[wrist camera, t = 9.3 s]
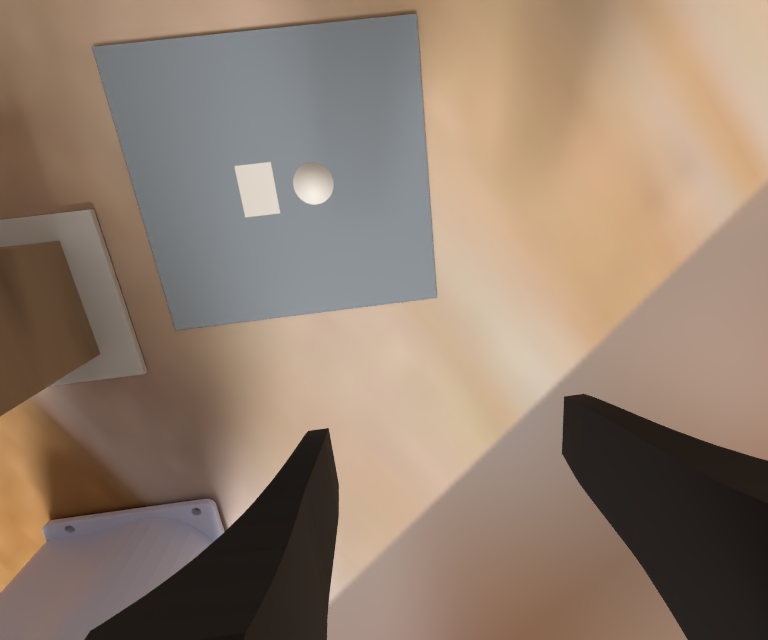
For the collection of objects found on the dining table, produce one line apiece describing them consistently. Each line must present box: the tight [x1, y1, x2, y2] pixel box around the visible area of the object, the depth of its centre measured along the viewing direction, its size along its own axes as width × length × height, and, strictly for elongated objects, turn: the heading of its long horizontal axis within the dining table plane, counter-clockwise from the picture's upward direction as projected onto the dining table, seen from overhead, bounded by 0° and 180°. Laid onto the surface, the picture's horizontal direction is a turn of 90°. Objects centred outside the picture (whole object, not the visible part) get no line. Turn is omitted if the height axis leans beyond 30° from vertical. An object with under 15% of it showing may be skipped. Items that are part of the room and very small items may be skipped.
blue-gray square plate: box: [92, 13, 437, 331], centre depth 18 cm, size 13×12×1 cm
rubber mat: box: [0, 209, 147, 387], centre depth 18 cm, size 9×8×1 cm
